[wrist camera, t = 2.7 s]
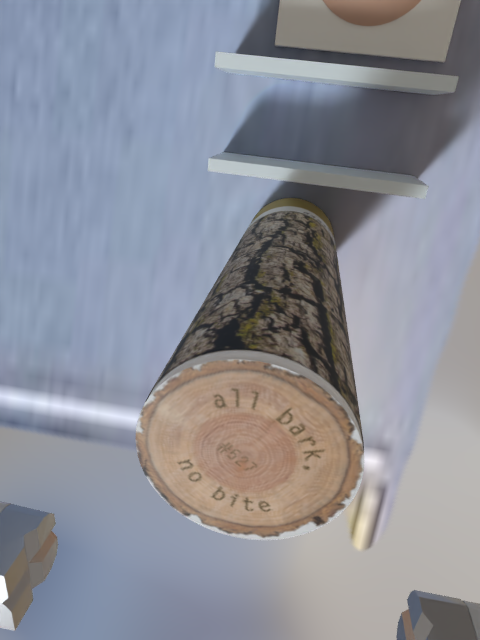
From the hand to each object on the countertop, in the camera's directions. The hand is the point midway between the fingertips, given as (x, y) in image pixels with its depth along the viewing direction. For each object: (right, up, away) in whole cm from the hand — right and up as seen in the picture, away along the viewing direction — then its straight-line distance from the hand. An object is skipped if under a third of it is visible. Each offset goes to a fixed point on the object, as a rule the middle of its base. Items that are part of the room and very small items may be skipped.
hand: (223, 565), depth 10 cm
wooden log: (+4, +12, +25) cm, 29 cm away
